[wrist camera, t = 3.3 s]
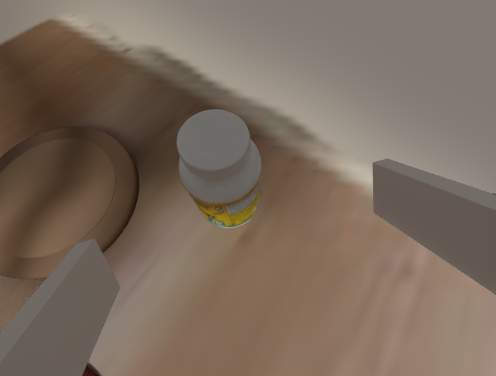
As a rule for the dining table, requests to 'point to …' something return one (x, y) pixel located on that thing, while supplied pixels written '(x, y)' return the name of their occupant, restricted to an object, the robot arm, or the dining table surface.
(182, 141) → the supplement bottle
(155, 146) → the dining table surface
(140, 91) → the dining table surface
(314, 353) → the dining table surface
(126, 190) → the plate
